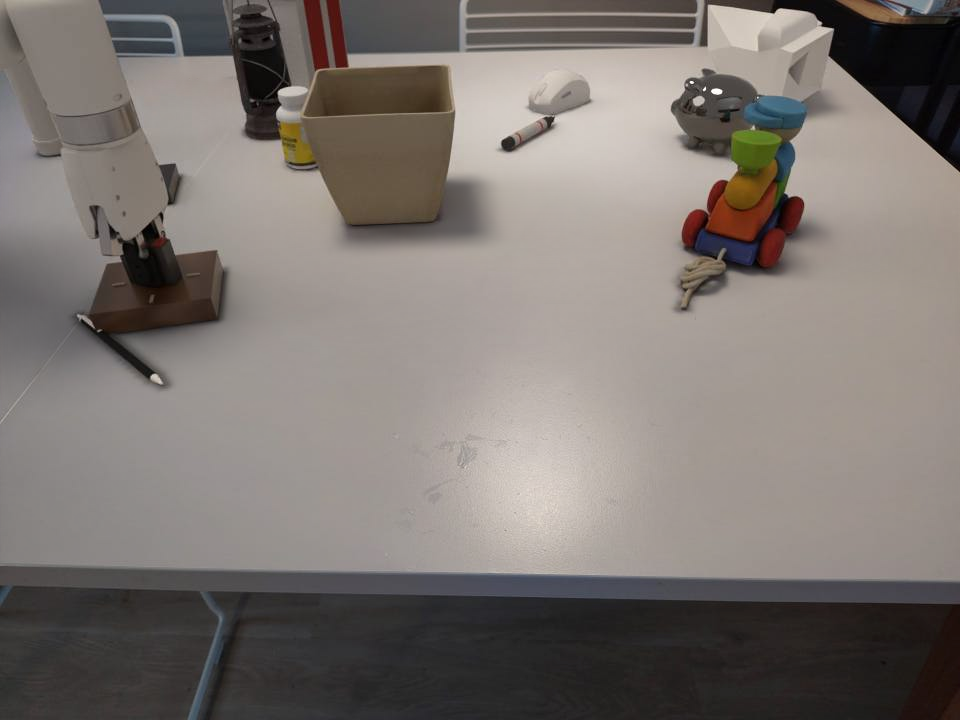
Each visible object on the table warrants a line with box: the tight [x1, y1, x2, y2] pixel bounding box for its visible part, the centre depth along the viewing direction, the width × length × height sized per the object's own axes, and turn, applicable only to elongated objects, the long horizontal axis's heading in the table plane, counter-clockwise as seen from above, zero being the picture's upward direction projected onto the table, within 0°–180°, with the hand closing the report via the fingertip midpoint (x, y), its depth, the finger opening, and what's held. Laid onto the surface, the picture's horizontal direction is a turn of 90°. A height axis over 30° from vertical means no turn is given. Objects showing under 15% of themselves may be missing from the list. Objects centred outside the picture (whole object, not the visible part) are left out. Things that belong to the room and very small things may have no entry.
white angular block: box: [707, 4, 835, 103], centre depth 129 cm, size 17×24×17 cm
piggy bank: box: [670, 67, 765, 156], centre depth 112 cm, size 11×15×12 cm
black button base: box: [158, 162, 180, 205], centre depth 104 cm, size 12×10×4 cm
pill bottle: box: [276, 86, 318, 170], centre depth 109 cm, size 6×6×12 cm
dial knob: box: [119, 237, 182, 285], centre depth 78 cm, size 6×2×5 cm, turn 84°
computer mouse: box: [527, 68, 591, 116], centre depth 130 cm, size 6×13×6 cm, turn 132°
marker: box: [500, 115, 556, 151], centre depth 119 cm, size 15×2×2 cm, turn 143°
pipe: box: [3, 61, 64, 157], centre depth 109 cm, size 6×6×30 cm
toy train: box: [679, 95, 809, 310], centre depth 83 cm, size 12×29×17 cm, turn 147°
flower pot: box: [300, 63, 456, 226], centre depth 95 cm, size 19×19×17 cm
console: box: [88, 249, 224, 336], centre depth 81 cm, size 13×11×3 cm
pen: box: [76, 313, 164, 386], centre depth 75 cm, size 1×19×1 cm, turn 49°
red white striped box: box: [221, 0, 350, 102], centre depth 133 cm, size 16×18×27 cm
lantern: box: [226, 0, 292, 140], centre depth 115 cm, size 12×11×30 cm
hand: (155, 276), depth 80 cm, fingers closed on dial knob, 2 cm apart
